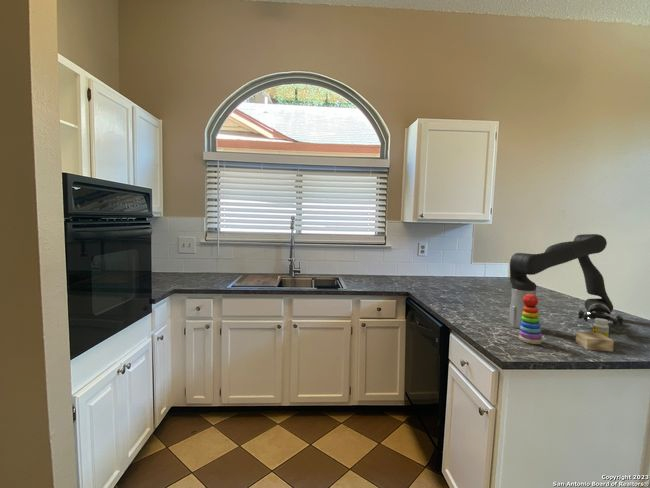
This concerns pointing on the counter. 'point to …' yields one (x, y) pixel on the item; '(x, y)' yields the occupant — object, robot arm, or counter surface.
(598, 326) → the supplement bottle
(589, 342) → the oak block
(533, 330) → the stacking toy
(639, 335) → the counter surface
